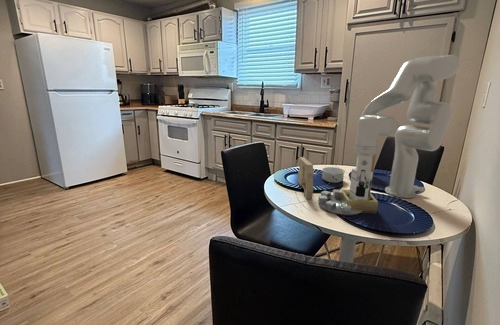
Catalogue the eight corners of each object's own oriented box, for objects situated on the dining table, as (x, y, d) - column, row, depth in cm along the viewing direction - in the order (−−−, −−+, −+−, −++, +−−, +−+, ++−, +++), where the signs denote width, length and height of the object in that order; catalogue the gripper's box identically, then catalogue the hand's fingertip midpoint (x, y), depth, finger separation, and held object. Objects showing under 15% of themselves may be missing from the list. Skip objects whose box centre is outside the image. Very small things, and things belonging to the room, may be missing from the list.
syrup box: (355, 207, 105) (359, 172, 100) (348, 200, 110) (352, 167, 106) (368, 206, 105) (373, 171, 101) (361, 200, 111) (365, 167, 107)
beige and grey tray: (364, 198, 118) (365, 187, 116) (379, 217, 100) (381, 205, 99) (315, 196, 119) (316, 185, 118) (322, 214, 102) (323, 202, 101)
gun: (313, 200, 115) (315, 166, 112) (305, 200, 115) (307, 166, 112) (303, 185, 139) (304, 156, 136) (297, 185, 139) (298, 156, 136)
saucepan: (322, 188, 129) (323, 178, 127) (320, 175, 147) (321, 166, 146) (347, 191, 126) (348, 179, 125) (342, 177, 145) (343, 167, 144)
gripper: (377, 155, 92) (370, 202, 97) (374, 145, 108) (369, 186, 113) (354, 153, 95) (349, 199, 100) (355, 144, 110) (350, 184, 115)
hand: (359, 192), depth 106 cm, fingers closed on syrup box, 7 cm apart
